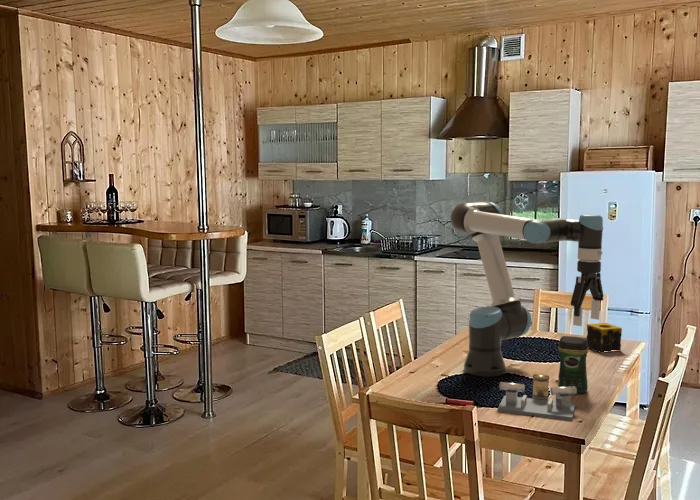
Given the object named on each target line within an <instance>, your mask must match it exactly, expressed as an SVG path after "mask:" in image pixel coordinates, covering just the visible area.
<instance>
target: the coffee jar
mask: <svg viewBox="0 0 700 500" xmlns="http://www.w3.org/2000/svg"><path fill="white" fill-rule="evenodd" d="M558 353H559V357H560V358H559V360H560V361H559V369H558V378H557V387H569V386H575V387H576V389H577V393H576V394H584V393H587V391H588V389H589V388H588V387H589V386H588V374H587V355H588V353H589V348H588V341H587V337H580V336H572V335H570V336H569V335H568V336H567V335H562V336H561V337H560V339H559V343H558Z"/></svg>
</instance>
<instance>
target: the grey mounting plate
mask: <svg viewBox="0 0 700 500" xmlns="http://www.w3.org/2000/svg"><path fill="white" fill-rule="evenodd" d="M575 408H576V403H575V402H574V403H572V402H571V409H560V408H559V407H558V406H556V400H554V398H552V397H550V398H549V397H548V400H540V399H533V398H531V397H528V396H527V395H525V394H523V396H517V403H516V405H508V404H506V395H504V396H503V398H502V399H501V402H500V403H499V405H498V407H497V412H500V413H506V414H507V413H508V414H517V415H525V416H532V417H540V418H541V417H542V418H549V419H558V420H564V421H565V420H566V421H573V418H574V413H575Z"/></svg>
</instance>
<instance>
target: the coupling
mask: <svg viewBox="0 0 700 500" xmlns="http://www.w3.org/2000/svg"><path fill="white" fill-rule="evenodd" d="M532 380H533V382H532V399H540V400H549V381H550V375H549V374H547V373H543V372H537V373H536V372H535V373H533V374H532Z"/></svg>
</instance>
